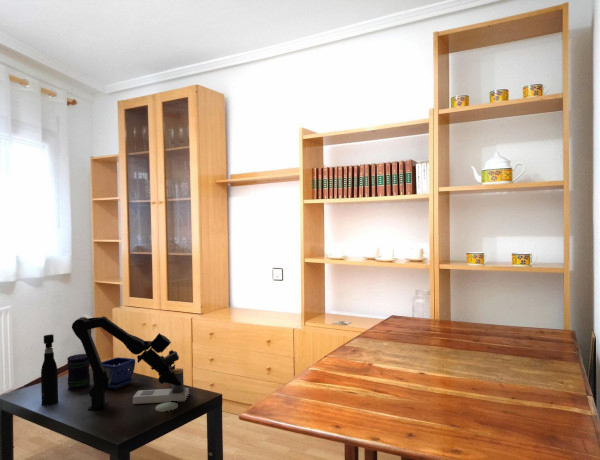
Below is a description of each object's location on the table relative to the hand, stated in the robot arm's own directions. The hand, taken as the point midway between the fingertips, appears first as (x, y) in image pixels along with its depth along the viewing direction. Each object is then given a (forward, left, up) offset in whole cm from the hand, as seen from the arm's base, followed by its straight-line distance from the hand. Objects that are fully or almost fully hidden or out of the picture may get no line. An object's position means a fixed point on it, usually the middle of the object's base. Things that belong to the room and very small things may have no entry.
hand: (180, 383), depth 194 cm
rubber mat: (-11, +4, -7) cm, 13 cm away
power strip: (0, +9, -7) cm, 11 cm away
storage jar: (+22, +54, -7) cm, 59 cm away
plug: (0, +1, -7) cm, 7 cm away
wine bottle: (+2, +58, -7) cm, 58 cm away
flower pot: (+22, +36, -7) cm, 43 cm away
